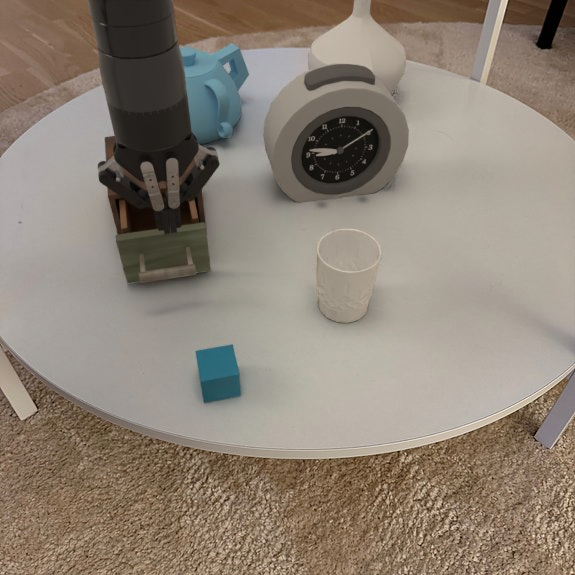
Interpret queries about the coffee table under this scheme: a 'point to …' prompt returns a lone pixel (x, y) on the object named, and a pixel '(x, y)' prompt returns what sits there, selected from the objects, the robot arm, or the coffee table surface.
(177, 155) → the robot arm
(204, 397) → the blue block
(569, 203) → the coffee table surface
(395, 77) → the vase
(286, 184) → the alarm clock
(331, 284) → the white cup
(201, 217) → the cabinet
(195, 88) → the teapot
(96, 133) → the coffee table surface
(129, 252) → the drawer
